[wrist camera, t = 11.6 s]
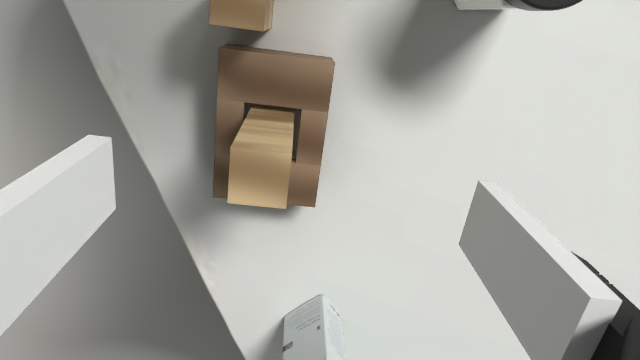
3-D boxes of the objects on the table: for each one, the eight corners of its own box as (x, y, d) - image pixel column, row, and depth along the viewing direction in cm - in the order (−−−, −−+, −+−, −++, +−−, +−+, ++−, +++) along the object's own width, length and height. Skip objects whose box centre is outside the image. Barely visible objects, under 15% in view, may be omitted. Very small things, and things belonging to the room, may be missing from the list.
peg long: (255, 99, 42) (230, 147, 27) (294, 104, 42) (292, 154, 27) (252, 138, 43) (227, 203, 29) (290, 142, 44) (286, 208, 29)
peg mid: (230, -26, 38) (211, -37, 29) (275, -19, 38) (268, -28, 30) (228, 21, 39) (209, 24, 31) (271, 27, 40) (263, 31, 31)
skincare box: (321, 291, 51) (327, 370, 40) (343, 314, 52) (354, 397, 41) (281, 316, 52) (276, 400, 41) (303, 339, 53) (304, 426, 42)
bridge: (227, 44, 40) (218, 47, 36) (331, 57, 41) (334, 62, 37) (220, 180, 45) (212, 197, 41) (313, 189, 46) (314, 207, 42)
